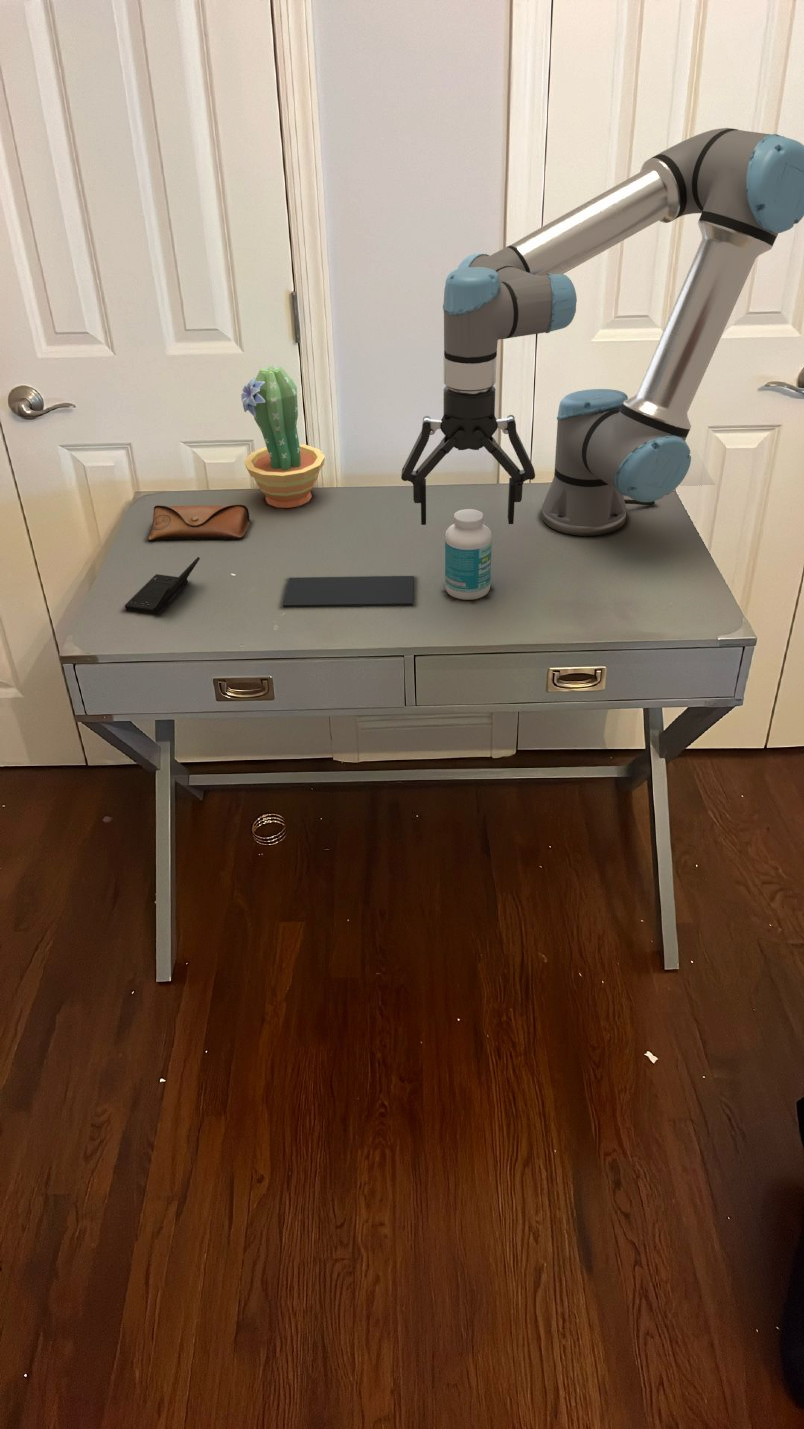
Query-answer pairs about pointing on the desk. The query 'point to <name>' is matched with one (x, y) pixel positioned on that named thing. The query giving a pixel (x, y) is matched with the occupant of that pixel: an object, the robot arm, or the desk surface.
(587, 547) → the desk surface
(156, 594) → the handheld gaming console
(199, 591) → the desk surface
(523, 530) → the desk surface
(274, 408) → the potted cactus
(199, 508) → the sunglasses case
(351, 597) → the desk mat
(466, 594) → the pill bottle
